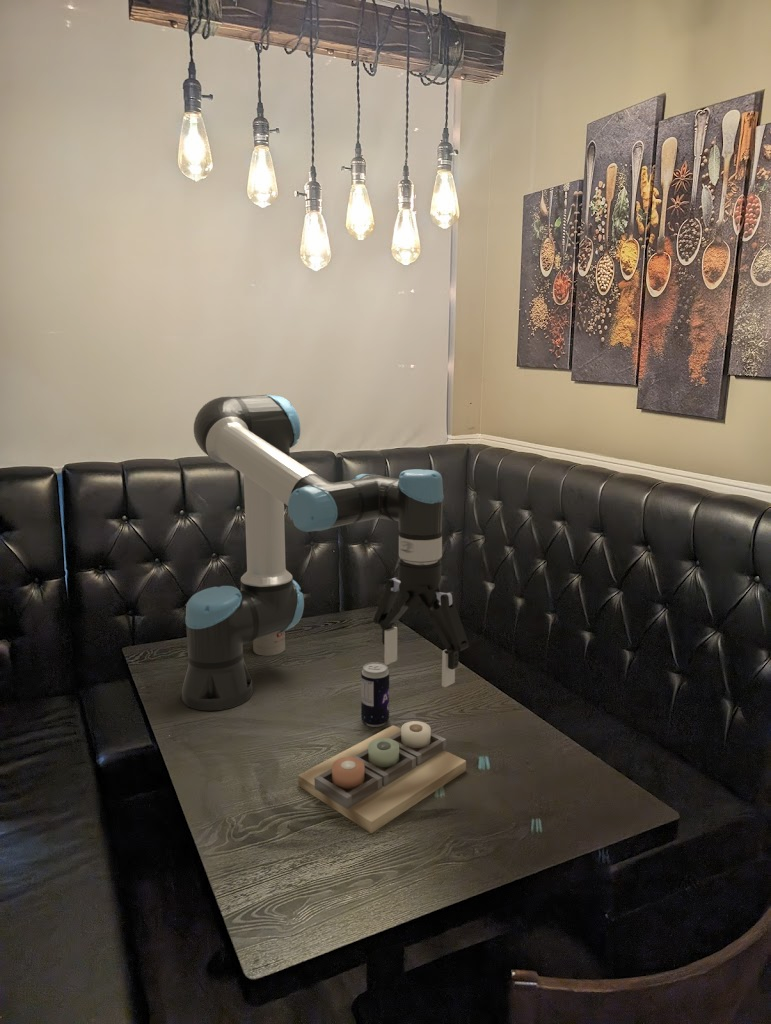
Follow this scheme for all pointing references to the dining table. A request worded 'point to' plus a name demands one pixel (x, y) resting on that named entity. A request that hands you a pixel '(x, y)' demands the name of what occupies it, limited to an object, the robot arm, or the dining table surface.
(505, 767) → the dining table surface
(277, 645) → the thermos bottle
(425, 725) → the cream button
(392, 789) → the panel
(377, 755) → the sage button
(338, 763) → the terracotta button
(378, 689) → the beverage can
